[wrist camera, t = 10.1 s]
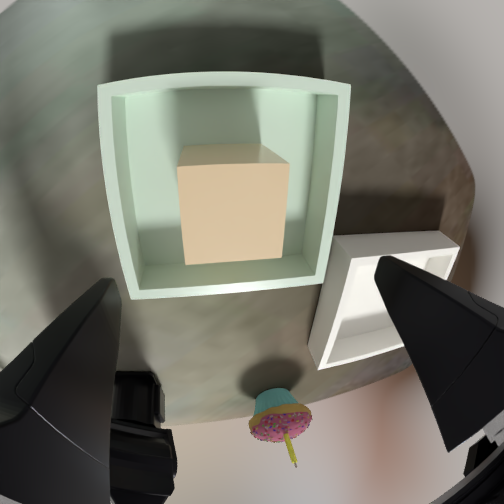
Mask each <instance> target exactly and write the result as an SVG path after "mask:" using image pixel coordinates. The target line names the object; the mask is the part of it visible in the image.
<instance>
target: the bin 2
mask: <svg viewBox="0 0 504 504" xmlns="http://www.w3.org/2000/svg"><path fill="white" fill-rule="evenodd" d="M459 248H460V247H459V246H458V245H457V244H456V243H454V242H453V241H452V240H451V239H449V238H448V237H447V236H445V235H444V234H443V233H441V232H440V231H439V230H438V231H415V232H393V233H373V234H354V235H335V236H333V237H332V242H331V247H330V252H329V258H328V263H327V267H326V272H325V277H324V282H323V283H322V287H321V292H320V296H319V301H318V305H317V309H316V313H315V317H314V321H313V325H312V329H311V333H310V337H309V341H308V345H307V346H308V348H309V351H310V353H311V355H312V358H313V360H314V362H315V365H316V367H317V369H318V370H320V369H324V368H329V367H333V366H337V365H341V364H345V363H349V362H353V361H356V360H360V359H364V358H367V357H371V356H374V355H377V354H381V353H384V352H387V351H390V350H393V349H396V348H399V347H402V346H404V344H403V342H402V340H401V338H400V336H399V334H398V332H397V330H396V328H395V326H394V324H393V322H392V320H391V318H390V316H389V314H388V312H387V309H386V307H385V305H384V302H383V300H382V297H381V295H380V293H379V290H378V288H377V286H376V283H375V281H374V273H375V270H376V267H377V264H378V260H379V258H380V257H381V256H386V255H391V256H394V257H396V258H398V259H400V260H403V261H405V262H407V263H409V264H412V265H414V266H416V267H418V268H421V269H423V270H425V271H427V272H429V273H432V274H434V275H436V276H438V277H440V278H442V279H444V280H447V278H448V275H449V273H450V271H451V268H452V266H453V263H454V261H455V258H456V256H457V253H458V251H459Z"/></svg>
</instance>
